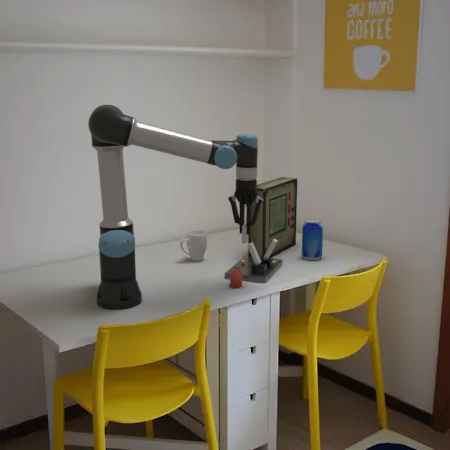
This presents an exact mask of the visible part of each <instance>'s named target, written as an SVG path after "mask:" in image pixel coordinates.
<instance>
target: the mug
mask: <svg viewBox="0 0 450 450" xmlns="http://www.w3.org/2000/svg"><path fill="white" fill-rule="evenodd" d="M184 241H186V247H187V251H188V252H187V251H186V250H185V249H184V247H183V243H184ZM179 246H180V249H181V250H182V252H183V253H185V254H186V255H187V256H190V259H191V261H194V262H201V261H202V260H203V258H204V256H205V253H206V250H207V247H208V233H207V231H204V230H191V231H188V232H187V233H186V238H182V239H181V240H180V243H179Z"/></svg>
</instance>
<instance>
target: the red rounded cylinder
mask: <svg viewBox="0 0 450 450" xmlns="http://www.w3.org/2000/svg"><path fill="white" fill-rule="evenodd" d="M229 287H230V288H231V287H233V288H232V289H241V288H243V280H242V270H241V269H231V270H230V279H229ZM240 287H241V288H240Z"/></svg>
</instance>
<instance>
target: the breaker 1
mask: <svg viewBox="0 0 450 450" xmlns="http://www.w3.org/2000/svg"><path fill="white" fill-rule="evenodd" d="M248 248H249V251H250V253H251V255H252V258H253V260H254V262H255V265H257V266H258V265H259V264H260V263H261V260H260V258H259V255H258V253H257V251H256V248H255V246H254V244H253V242H252V243H249V244H248V243H247V249H248Z"/></svg>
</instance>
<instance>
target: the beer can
mask: <svg viewBox="0 0 450 450" xmlns="http://www.w3.org/2000/svg"><path fill="white" fill-rule="evenodd" d="M301 231H302V236H301V237H302V238H301V256H302V258H303V259H304V260H307V261H319V260H320V259H321V258H322V256H323V246H324V245H323V244H324V241H323V240H324V225H323V223H322V220H321V219H317V218H308V219H305V220H304V223H303V224H302V230H301Z"/></svg>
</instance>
